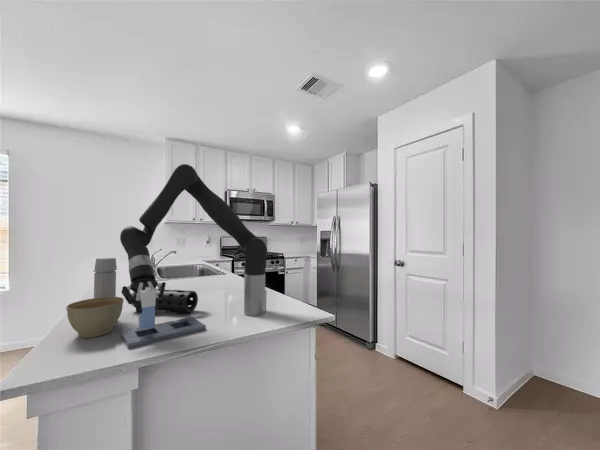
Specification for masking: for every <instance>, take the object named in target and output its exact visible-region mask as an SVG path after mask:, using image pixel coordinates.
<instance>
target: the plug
mask: <svg viewBox="0 0 600 450" xmlns="http://www.w3.org/2000/svg"><path fill="white" fill-rule="evenodd" d="M155 299H156V291H155V290H154V289H151V288H149V287H145V290H140V301H141V305H142V313H141V314H139V313H138V328H141V329H145V328H150V327H155V324H156V311H155Z"/></svg>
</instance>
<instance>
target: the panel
mask: <svg viewBox="0 0 600 450" xmlns="http://www.w3.org/2000/svg"><path fill="white" fill-rule="evenodd" d="M206 329H207V328H206V324H204V323H202V322H201V321H199V320H198V319H196V318H195V317H193V316H190V317H185V318H181V319H175V320H174V319H173V320H170V321H166V322H161V323H155V327H150V328H145V329H141V328H140V327H137V328H131V329H128V330H122V331H120V337H121V339H122V341H123V342H124V345H125V346H126V348H127V349H128V350H130V349H133V348H138V347H142V346H145V345H150V344H154V343H158V342H161V341H167V340H170V339H174V338H178V337H182V336H187V335H191V334H194V333H200V332H203V331H206Z"/></svg>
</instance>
